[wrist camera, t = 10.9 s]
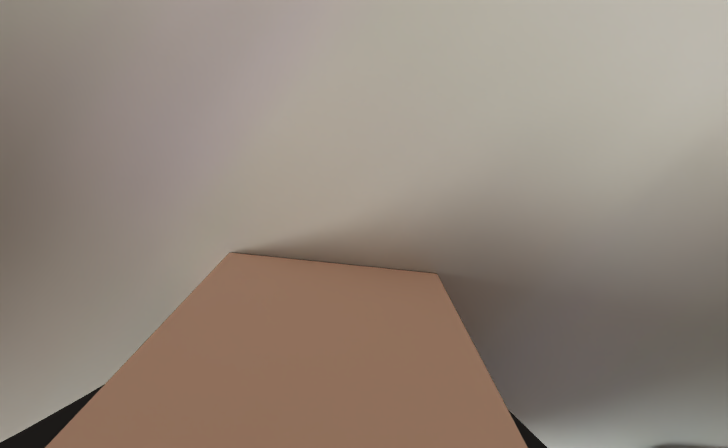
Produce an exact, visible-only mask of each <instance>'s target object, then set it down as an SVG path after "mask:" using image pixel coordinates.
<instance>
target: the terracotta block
mask: <svg viewBox="0 0 728 448" xmlns="http://www.w3.org/2000/svg"><path fill="white" fill-rule="evenodd" d="M45 448H528V447H527V445H526V443H525V442H524V440H523V438H522V436H521V434H520V432H519V430H518V428H517V426H516V424H515V422H514V420H513V419H512V417H511V415H510V413H509V411H508V409H507V407H506V405H505V403H504V401H503V399H502V398H501V396H500V394H499V392H498V390H497V388H496V386H495V384H494V382H493V380H492V378H491V376H490V375H489V373H488V371H487V369H486V367H485V365H484V363H483V361H482V359H481V357H480V355H479V353H478V352H477V350H476V348H475V346H474V344H473V342H472V340H471V338H470V336H469V334H468V332H467V330H466V329H465V327H464V325H463V323H462V321H461V319H460V317H459V315H458V313H457V311H456V309H455V307H454V306H453V304H452V302H451V300H450V298H449V296H448V294H447V292H446V290H445V288H444V286H443V284H442V283H441V281H440V279H439V277H438V275H437V274H435V273H425V272H416V271H406V270H396V269H386V268H376V267H367V266H357V265H347V264H337V263H327V262H318V261H308V260H298V259H288V258H278V257H269V256H259V255H249V254H239V253H229V254H228V255H227V256H226V257H225V258H224V259H223V260H222V261H221V262H220V263H219V264H218V265H217V266H216V267H215V268H214V270H213V271H212V272H211V273H210V274H209V275H208V276H207V277H206V278H205V279H204V280H203V281H202V282H201V283H200V284H199V285H198V286H197V287H196V289H195V290H194V291H193V292H192V293H191V294H190V295H189V296H188V297H187V298H186V299H185V300H184V301H183V302H182V303H181V304H180V305H179V307H178V308H177V309H176V310H175V311H174V312H173V313H172V314H171V315H170V316H169V317H168V318H167V319H166V320H165V321H164V322H163V323H162V325H161V326H160V327H159V328H158V329H157V330H156V331H155V332H154V333H153V334H152V335H151V336H150V337H149V338H148V339H147V340H146V341H145V342H144V344H143V345H142V346H141V347H140V348H139V349H138V350H137V351H136V352H135V353H134V354H133V355H132V356H131V357H130V358H129V359H128V360H127V362H126V363H125V364H124V365H123V366H122V367H121V368H120V369H119V370H118V371H117V372H116V373H115V374H114V375H113V376H112V377H111V378H110V380H109V381H108V382H107V383H106V384H105V385H104V386H103V387H102V388H101V389H100V390H99V391H98V392H97V393H96V394H95V395H94V396H93V398H92V399H91V400H90V401H89V402H88V403H87V404H86V405H85V406H84V407H83V408H82V409H81V410H80V411H79V412H78V413H77V414H76V415H75V417H74V418H73V419H72V420H71V421H70V422H69V423H68V424H67V425H66V426H65V427H64V428H63V429H62V430H61V431H60V432H59V433H58V435H57V436H56V437H55V438H54V439H53V440H52V441H51V442H50V443H49V444H48V445H47V446H46V447H45Z"/></svg>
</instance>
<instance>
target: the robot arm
mask: <svg viewBox="0 0 728 448" xmlns="http://www.w3.org/2000/svg"><path fill="white" fill-rule="evenodd" d="M104 385H105V384H104ZM104 385H102V386H101V387H99V388H98V389H96V390H94V391H93V392H91V393H89V394H88V395H86V396H84V397H82V398H81V399H79V400H77V401H75V402H73V403H72V404H70V405H68V406H66V407H64V408H63V409H61V410H59V411H57V412H56V413H54V414H52V415H50V416H48V417H47V418H45V419H43V420H41V421H39V422H38V423H36V424H34V425H32V426H31V427H29V428H27V429H25V430H23V431H22V432H20V433H18V434H16V435H14V436H12V437H10V438H8V439H6V440H5V441H3V442H1V443H0V448H45V447H46V446H47V445H48V444H49V443H50V442H51V441H52V440H53V439H54V438H55V437H56V436H57V435H58V433H59V432H60V431H61V430H62V429H63V428H64V427H65V426H66V425H67V424H68V423H69V422H70V421H71V420H72V419H73V418H74V417H75V415H76V414H77V413H78V412H79V411H80V410H81V409H82V408H83V407H84V406H85V405H86V404H87V403H88V402H89V401H90V400H91V399H92V398H93V396H94V395H95V394H96V393H97V392H98V391H99V390H100V389H101V388H102V387H103V386H104ZM508 411H509V410H508ZM509 413H510V415H511V417H512V419H513V420H514V422H515V424H516V426H517V428H518V430H519V432H520V434H521V436H522V438H523V440H524V442H525V443H526V445H527V447H528V448H547V447H546V446H545V445H544V444H543V443H542V442H541V441H540V440H539V439H538V438H537V437H536V436H535V435H534V434H533V433H532V432H530V431H529V430H528V429H527V428H526V427H525V426H524V425H523V424H522V423H521V422H520V421H519V420H518V419H517V418H516V417H515V416H514V415H513V414H512V413H511V412H510V411H509Z"/></svg>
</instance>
